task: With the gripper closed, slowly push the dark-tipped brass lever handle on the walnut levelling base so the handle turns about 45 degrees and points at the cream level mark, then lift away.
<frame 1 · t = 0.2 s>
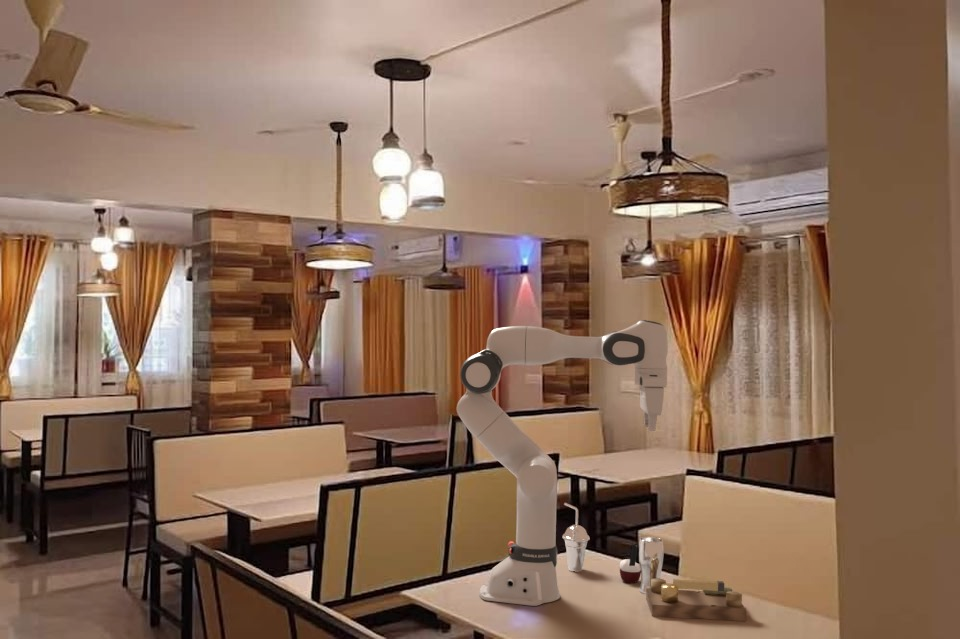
hand: (649, 428, 228), 48 cm above the table, fingers open, 8 cm apart
beer glass: (650, 592, 236), on the table
lever handle: (692, 590, 218), point 6 cm above the table, hinge at 0.0°
cup with straw: (574, 570, 256), on the table
levelling base: (694, 609, 221), on the table
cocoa: (629, 582, 245), on the table
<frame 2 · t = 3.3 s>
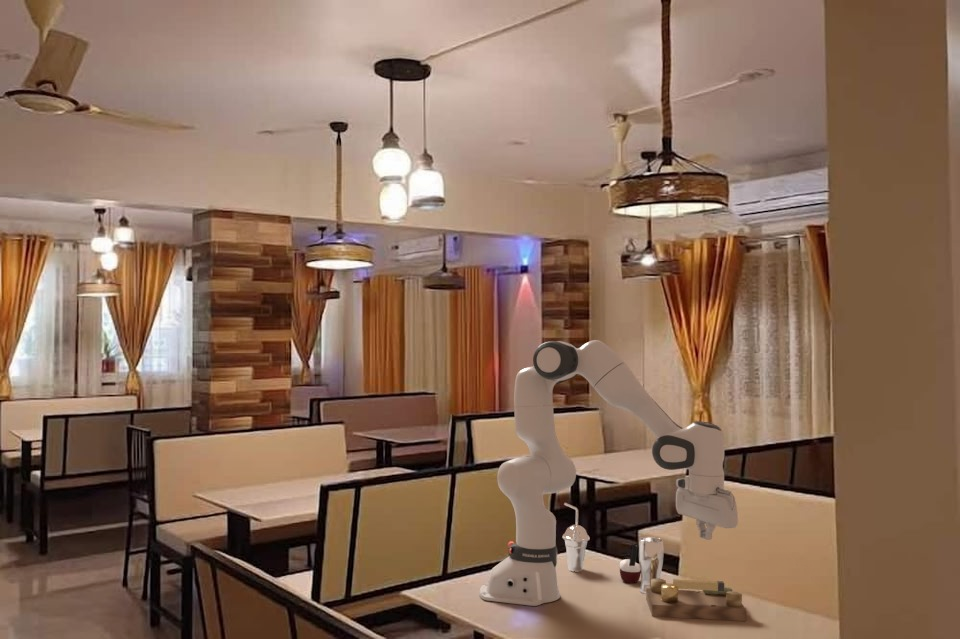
hand: (705, 538, 213), 21 cm above the table, fingers closed
nothing on the table moved.
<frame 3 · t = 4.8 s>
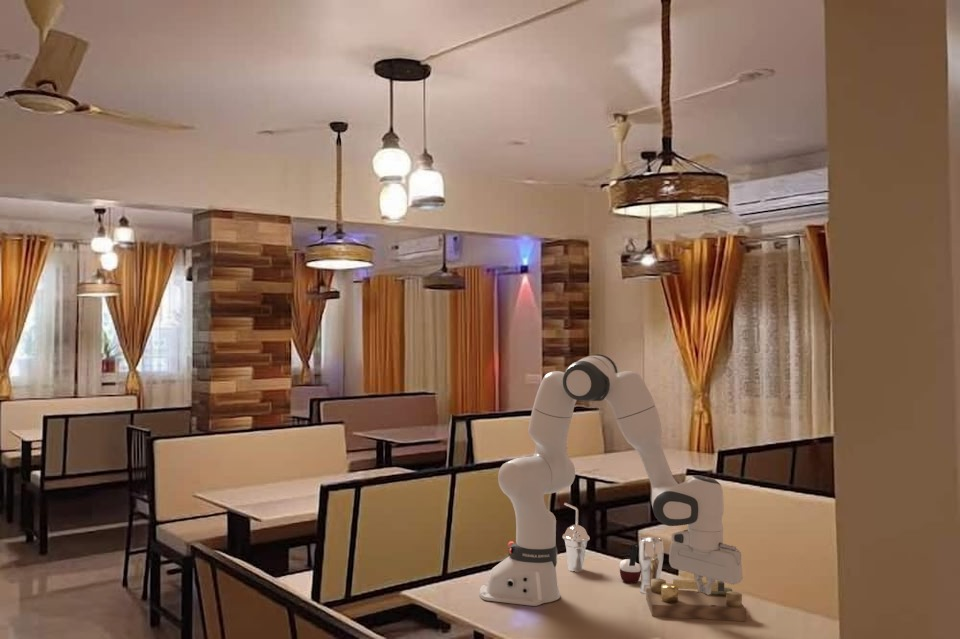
hand: (704, 593, 212), 7 cm above the table, fingers closed
nothing on the table moved.
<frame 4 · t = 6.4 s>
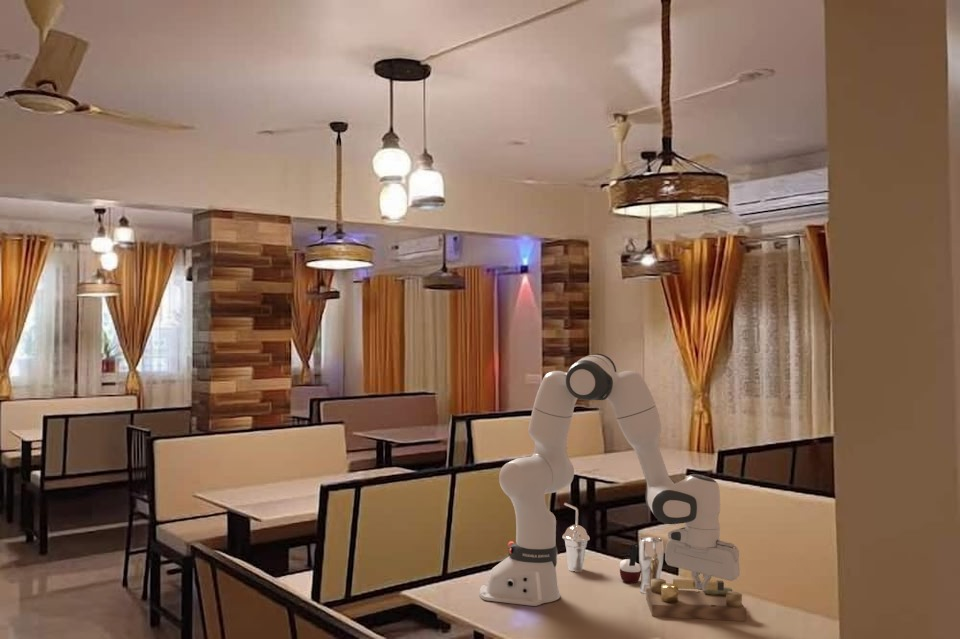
hand: (701, 589, 216), 7 cm above the table, fingers closed
lever handle: (692, 590, 218), point 6 cm above the table, hinge at 2.8°, touching gripper
everything else where it was.
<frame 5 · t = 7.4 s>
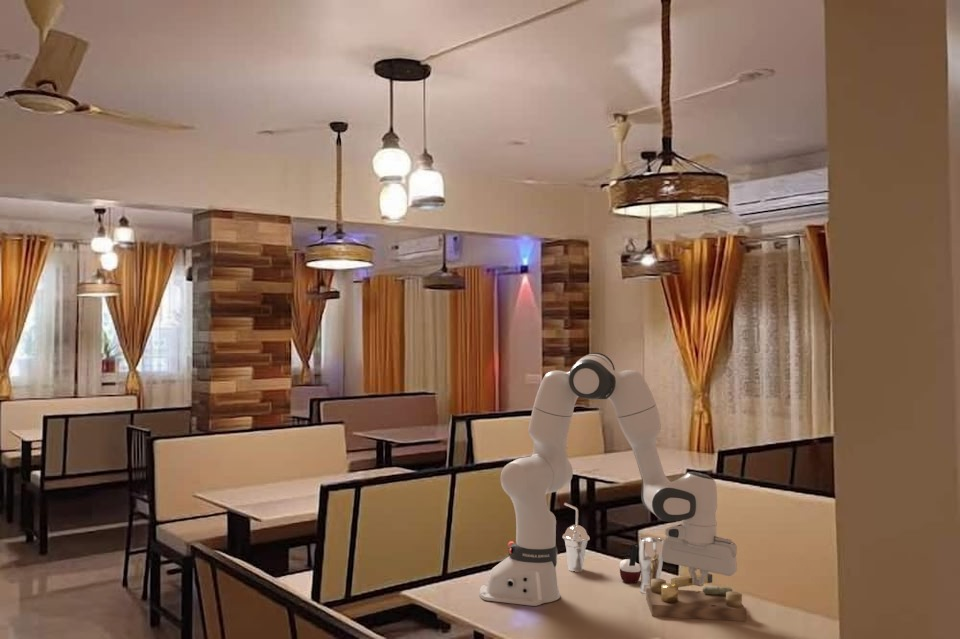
hand: (697, 585, 220), 7 cm above the table, fingers closed
lever handle: (687, 587, 221), point 6 cm above the table, hinge at 31.9°, touching gripper
everything else where it was.
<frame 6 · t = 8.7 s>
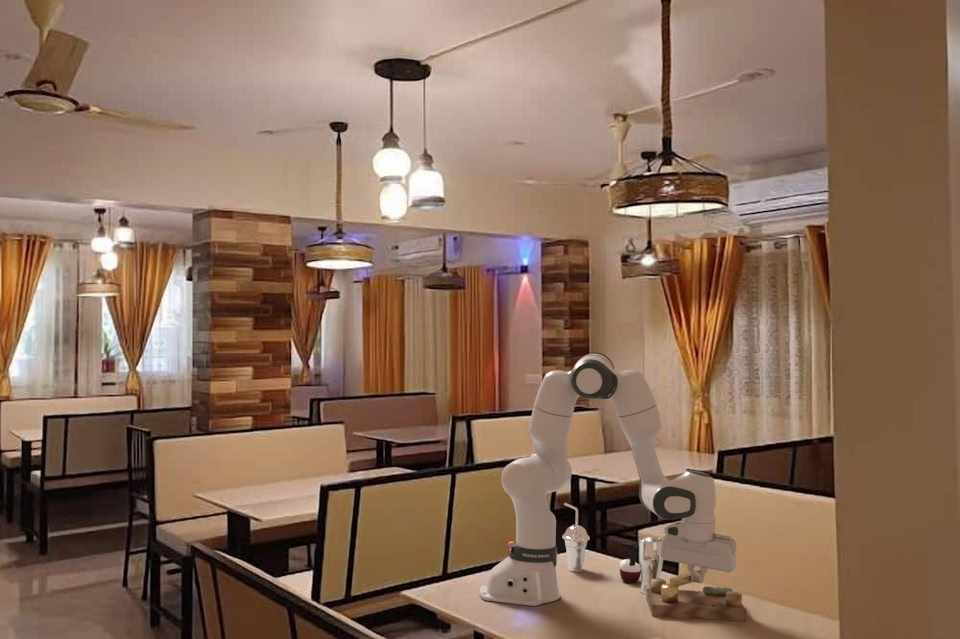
hand: (697, 582, 223), 7 cm above the table, fingers closed
lever handle: (683, 585, 222), point 6 cm above the table, hinge at 44.9°, touching gripper
everything else where it was.
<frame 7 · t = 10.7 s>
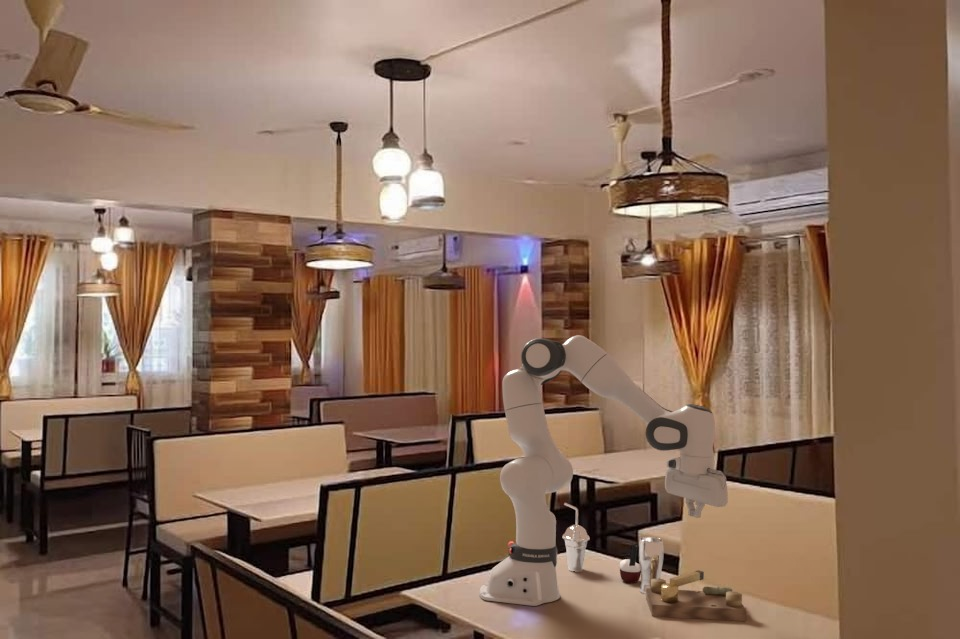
hand: (694, 516, 221), 25 cm above the table, fingers closed
lever handle: (683, 585, 222), point 6 cm above the table, hinge at 45.1°
everything else where it was.
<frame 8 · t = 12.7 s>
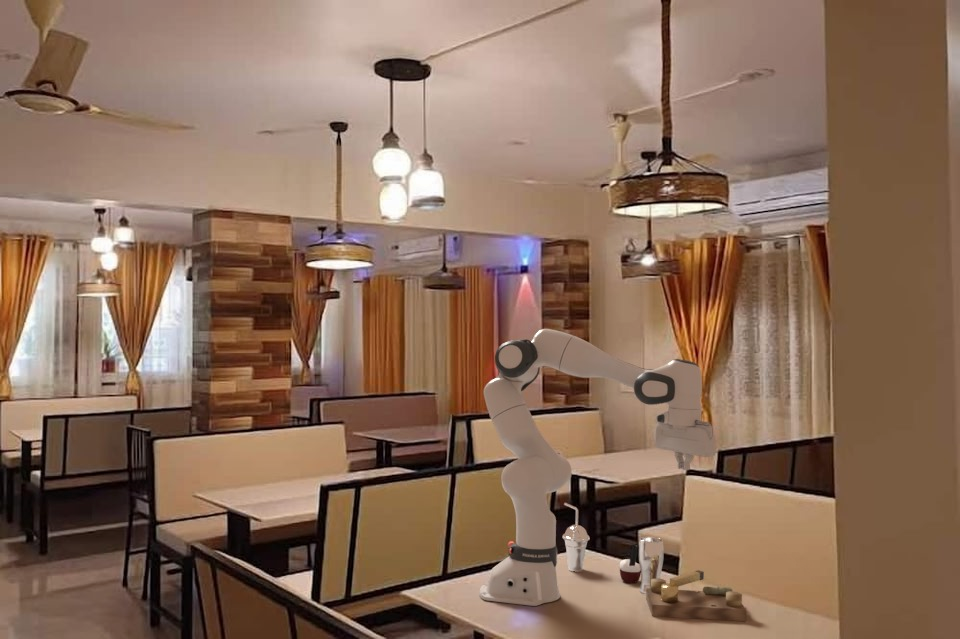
hand: (683, 469, 225), 37 cm above the table, fingers closed
nothing on the table moved.
at the end: lever handle at +45° (first picture: +0°); the gripper is holding nothing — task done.
